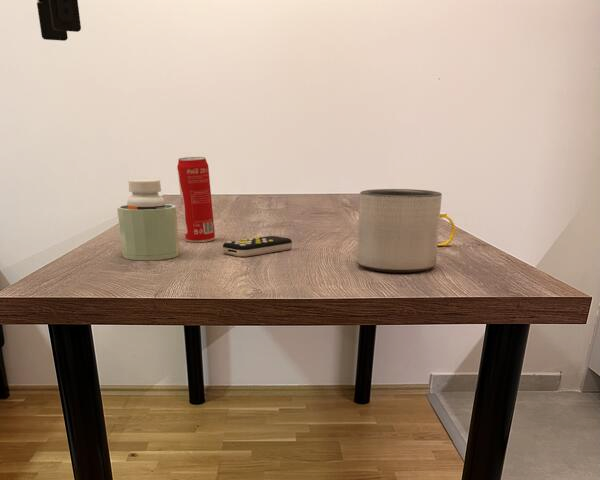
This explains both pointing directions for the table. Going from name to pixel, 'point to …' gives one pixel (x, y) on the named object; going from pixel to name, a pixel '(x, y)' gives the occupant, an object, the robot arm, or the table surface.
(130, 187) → the pill bottle
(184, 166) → the beverage can
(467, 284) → the table surface
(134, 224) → the holder
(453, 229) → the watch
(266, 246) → the remote control
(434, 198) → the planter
